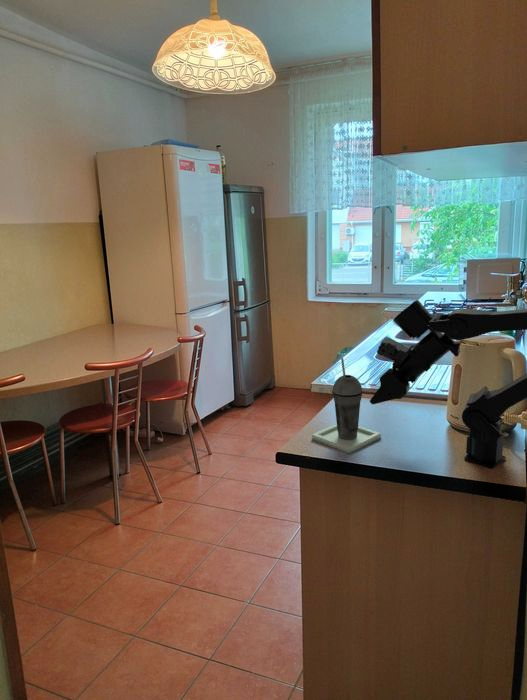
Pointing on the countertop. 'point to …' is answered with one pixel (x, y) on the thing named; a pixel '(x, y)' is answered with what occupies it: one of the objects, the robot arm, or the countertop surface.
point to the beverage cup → (347, 405)
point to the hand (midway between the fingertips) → (376, 396)
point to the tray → (348, 446)
